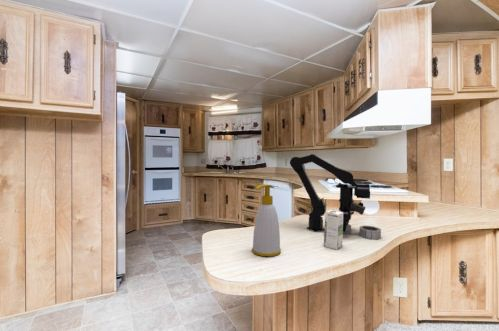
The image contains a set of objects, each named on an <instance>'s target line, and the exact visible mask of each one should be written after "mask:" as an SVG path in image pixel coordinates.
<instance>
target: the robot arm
mask: <svg viewBox="0 0 499 331" xmlns="http://www.w3.org/2000/svg"><path fill="white" fill-rule="evenodd" d="M310 163H313V164H315V165H316V166H318V167H321V169H323V170H325V171H327V172H329V173H331V174H332V175H333V176H334V177H336V178H337V179H338V180H339V181H340V182H339V183H337V185H336V186H335V187H336V189H337V188H339V200H338V202H339V207H338V211H340V212H343V232H345V231H346V226H347V224H350V221H351V219H352V216H353V215H354V213H355V212H356V213H358V214H359V215H361V216H362V215H363V214H364V213H365V210H366V206H364V203H363V202H362V201H359V202H358V203H357V202H354V201H355V200H354V198H353V196H355V197H356V198H357V199H368V200H370V199H371V191H370V190H371V187H370V184H369V183H365V184H364V183H358V182H357V181H355V179H354V175H353V172H351V171H349V170H346V169H344V168H339V167H338V166H335V165H334V164H332V163H330V162H328V161H326V160H325V159H322V158H321V157H319V156H317V155H316V153H311V154H309V155H306V156H302V157H300V156H293V157H291V159H290V161H289V165H290V167H291V168H292V169H293V171H294V173H296V174H297V175H298V177H299V179H300V181H301V183H302V185H303V187H304V189H305V191H306V194H307V195H308V197H309V199H310V203H311V208H312V210H311V211H310V212H309V213H308V226H307V227H306V229H307V230H310V231H312V232H320V231H324V229H325V228H324V220H323V216H325V212H327V202H325V199H324V197H322V198H320V197H319V195H318V193H317V192H316V189H315V187H314V185H313V184H312V181H311V179H310V178H309V175H308V173H307V171H306V167H305V165H306V164H310ZM342 183H343V184H342ZM353 190H354V191H353Z"/></svg>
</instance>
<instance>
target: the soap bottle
mask: <svg viewBox="0 0 499 331" xmlns="http://www.w3.org/2000/svg"><path fill="white" fill-rule="evenodd" d="M262 188H264V195H261V204H260V205H259V206H258V208H257V209H258V210H257V212H256V215H255V221H254V229H253V235H252V236H253V237H252V238H253V241H252V249H251V250H252V252H253V253H254V254H255V255H256V256H260V257H266V256H267V257H275V256H277V255H279V254H281V251H282V250H281V237H280V233H281V232H280V225H279V217H278V212H277V209H276V206H275V205H274V203H273V202H274V201H273V200H274V199H273V197H274V196H272V195H271V194H270V192H271V189H270V188H272V189H275V186H274V185H271V184H264V183H263V184H259V185H258V186H256V187H255V191H256V190H257V191H259V190H261V189H262Z"/></svg>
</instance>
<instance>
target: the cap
mask: <svg viewBox="0 0 499 331" xmlns="http://www.w3.org/2000/svg"><path fill="white" fill-rule="evenodd" d="M343 235H347V236H349V235H352V224H350V223H349V224H347V226H346V231H345V232H343Z"/></svg>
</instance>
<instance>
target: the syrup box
mask: <svg viewBox="0 0 499 331" xmlns="http://www.w3.org/2000/svg"><path fill="white" fill-rule="evenodd" d="M323 229H324V230H323V232H324V234H323V247H326V248H329V249H333V250H339V249H340V248H341V247H342V246H343V235H344V234H343V212H340V211H339V210H335V209H331V210H330V209H329V210H328V211H325V214H324V228H323Z"/></svg>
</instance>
